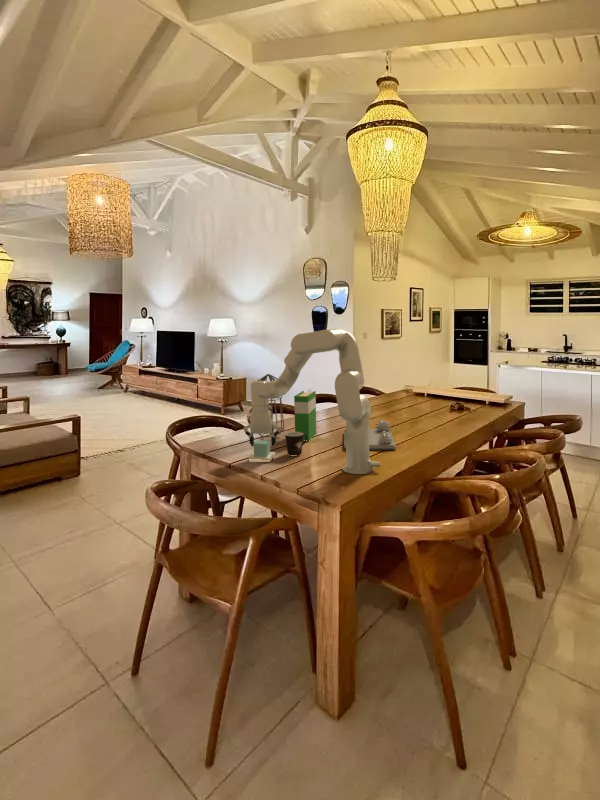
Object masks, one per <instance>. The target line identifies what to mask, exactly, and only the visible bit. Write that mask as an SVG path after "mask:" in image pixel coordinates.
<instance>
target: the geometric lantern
mask: <svg viewBox="0 0 600 800" xmlns="http://www.w3.org/2000/svg"><path fill="white" fill-rule="evenodd" d="M278 378H279V377H276V376H273V375H272V374H270V373H267V374H265V375H264V376H262V377H261V378H260V379H257V381H266V382H267V380H268V379H269V382H271V381H274V380H277V379H278ZM282 398H283V395H282V396H279V397H277V398H274V399H268V401H269V402H270V406H272V407H273V403H274V412H275V425H277V426H279V425H278V416H277V415H278V414H277V405H276V401H279V406H280V407H279V410H280V427H281V429H280V431H279V433H278V434H277V435H276V436H278V435H280V434H281V433H283V432H284V431H285V421H284V412H283V403H282ZM270 411H271V413H272V418H273V419H274V416H273V415H274V413H273V408H272V409H270ZM275 430H277V429H276V428H274V430H273V431H274V433H275V432H276V431H275ZM258 435H259V436H260V438H261V437H265V438H268V437H269V438H272V436H271V435H266V436H265V434H258ZM276 436H275V439H277V437H276Z"/></svg>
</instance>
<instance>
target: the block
mask: <svg viewBox="0 0 600 800" xmlns="http://www.w3.org/2000/svg"><path fill="white" fill-rule="evenodd" d="M253 452H254V457H267V456H268V455H269V454H270V452H271V441H269V440H261V439H260V440H257V439H256V441H254V444H253Z"/></svg>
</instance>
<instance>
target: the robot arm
mask: <svg viewBox="0 0 600 800" xmlns="http://www.w3.org/2000/svg"><path fill="white" fill-rule="evenodd" d="M290 348H291V349H290V351H289V352H288V353H287V355H286V356H285V357H284V360H283V362H284V364H285V365H284V366H285V367H284V369H283V371H282V373H281V374H280V376H278V377H277V378H278V379H275V380H274V381H273V380H272V381H271V382H270V381H268V382H267V381H266V380H265V381H258V380H256V381H255V380H254V381H252V382H251V383H250V394H251V396H250V399H251V409H252V411H251V412H250V417H249V424H247V425H245V426H244V427H243V428H242V429H243V431H244V433H245V435H246V436H247V437H248V438H249V444H250V446H251V447H254V445H253V444H254V443H255V437H254V435H255V434H256V435H257V434H258V435H259V434H261V435H263V434H264V435H265V434H266V435H268V434H269V436H272V437H270V440H271V441H270V444H271V446H272V447H274V446H275V445H276V443H277V442H276V441H277V440H276V439H277V438H275V436H276V435H277V436H278V433H280V432H281V431H280V430H282V429H281V426H280V425H278V426H277V424H276V423H274V417H273V418H272V411H271V409H272V410H273V405H272V406H271V405H270V401H268V400H271V399H272V400H273V399H274V398H275V399H278V398H277V397H281V396H282V397H283V396H285V395H286V394H288V392H289V391H290V390H291V389H292V387H293V386H294V385H295V384H296V382H297V380H298V378H299V376H300V373H301V370H302V369H303V368H304V367H305V365H306V364H307V362H308V361H309V360H310V359H311V358H312V356H313V355H314V354H318V353H325V352H331V351H338V360H339V366H340V367H339V368H340V373H338V374H337V376H336V378H335V380H334V390H335V398H336V403H337V408H338V412H339V415H340V418H341V419H342V420H343V421H345V422H346V424H345V426H346V427H345V430H346V449H345V453H346V454H345V457H346V458H345V459H346V460H345V461H346V464H344V465H342V471H343V472H344V473H346V474H351V475H366V474H370V473H371V472H373V471H374V468H375V467H376V468H380V467H381V462H379V461H377V460H371V457H370V450H369V429H370V421H371V412H372V409H371V408H372V407H371V406H372V405H371V402H370V400H369V399H368V397H367V396H365V395H363V394H361V393H360V390H362V389H363V387H364V385H365V377H364V371H363V366H362V361H361V357H360V356H361V355H360V350H359V345H358V342H357V340H356V338H355V337H354V335H352V334H351V332H348V331H346V330H344V329H340V328H330V329H322V330H318V331H317V330H315V331H310V332H304V333H298V334H296V335H294V336H293V338H292V339H291V342H290ZM275 399H274V400H275ZM275 428H276V429H275ZM249 430H250V431H249ZM273 430H274V431H273ZM275 430H276V431H275ZM279 431H280V432H279ZM274 432H275V433H274Z"/></svg>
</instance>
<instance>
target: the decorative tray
mask: <svg viewBox="0 0 600 800" xmlns="http://www.w3.org/2000/svg"><path fill="white" fill-rule="evenodd" d="M390 424H391V422H390V421H387V419H385V420H384V418H382V420H381V419H379V420H377V423H375V426H374V428H369V451H377V450H378V451H394V450H396V449H397V445H396V442H395V439H394V437H393V434H392V430H391V429H392V428H393V427H392V426H391V425H390ZM343 448H344V449H345V450H346V429H345V430H344V433H343Z"/></svg>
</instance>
